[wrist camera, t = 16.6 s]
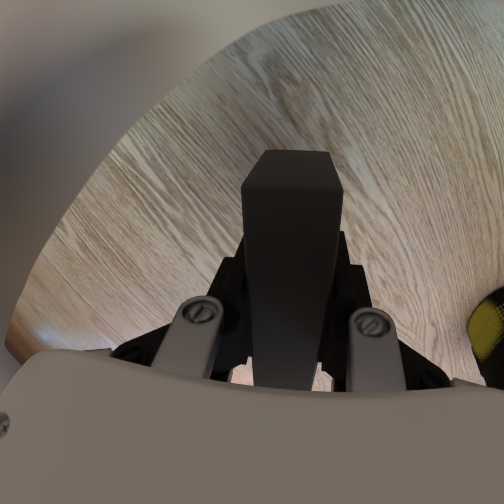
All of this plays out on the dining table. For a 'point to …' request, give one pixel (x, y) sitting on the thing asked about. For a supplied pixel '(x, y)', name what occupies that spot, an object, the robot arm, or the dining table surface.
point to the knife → (290, 261)
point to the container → (489, 339)
